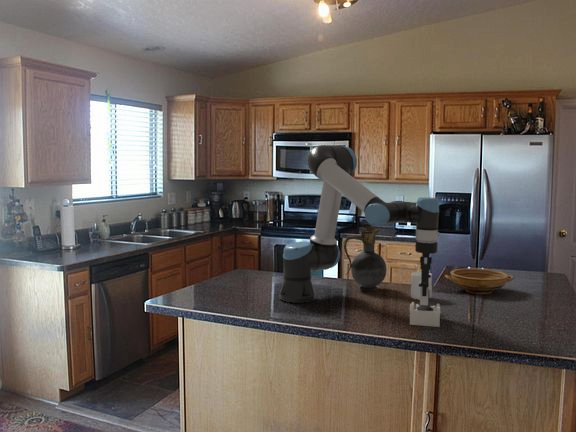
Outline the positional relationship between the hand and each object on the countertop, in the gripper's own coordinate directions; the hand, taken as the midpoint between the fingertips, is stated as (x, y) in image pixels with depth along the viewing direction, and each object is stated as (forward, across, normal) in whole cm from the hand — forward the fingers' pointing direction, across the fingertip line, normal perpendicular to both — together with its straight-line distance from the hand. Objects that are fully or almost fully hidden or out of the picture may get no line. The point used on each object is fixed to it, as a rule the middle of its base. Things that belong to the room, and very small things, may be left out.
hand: (424, 300), depth 187 cm
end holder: (+7, -2, 0) cm, 7 cm away
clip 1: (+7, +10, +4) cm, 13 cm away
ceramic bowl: (+8, +52, -23) cm, 57 cm away
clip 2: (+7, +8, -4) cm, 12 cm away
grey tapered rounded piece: (+7, 0, 0) cm, 7 cm away
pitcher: (+8, +42, +26) cm, 50 cm away
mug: (+8, +30, +1) cm, 32 cm away
